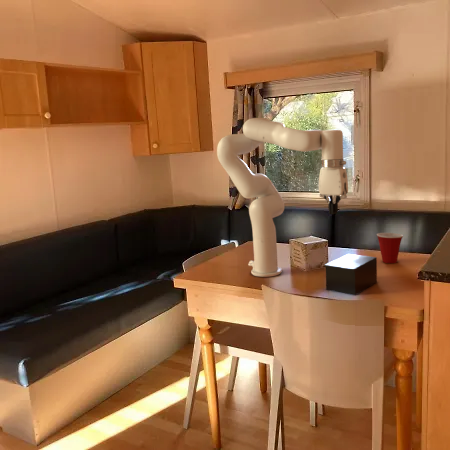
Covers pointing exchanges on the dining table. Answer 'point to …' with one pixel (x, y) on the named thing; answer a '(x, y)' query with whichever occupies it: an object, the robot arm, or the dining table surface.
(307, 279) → the dining table surface
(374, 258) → the bin lid
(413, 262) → the dining table surface
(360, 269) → the trash bin
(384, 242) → the plastic cup
